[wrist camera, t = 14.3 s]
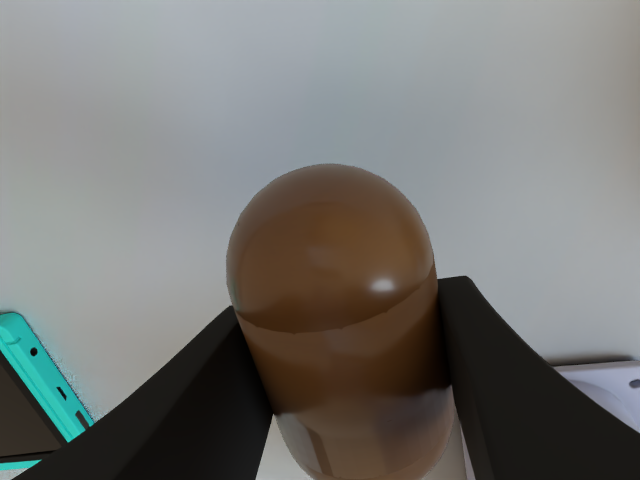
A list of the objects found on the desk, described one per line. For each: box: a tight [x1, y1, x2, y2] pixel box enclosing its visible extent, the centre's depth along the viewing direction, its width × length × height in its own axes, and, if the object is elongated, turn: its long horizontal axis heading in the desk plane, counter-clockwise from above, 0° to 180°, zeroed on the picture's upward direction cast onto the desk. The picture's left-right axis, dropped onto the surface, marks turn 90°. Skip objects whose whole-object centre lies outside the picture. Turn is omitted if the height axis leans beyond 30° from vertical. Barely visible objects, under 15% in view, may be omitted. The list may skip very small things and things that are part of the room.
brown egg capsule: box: [226, 164, 454, 480], centre depth 10 cm, size 8×4×4 cm, turn 13°
